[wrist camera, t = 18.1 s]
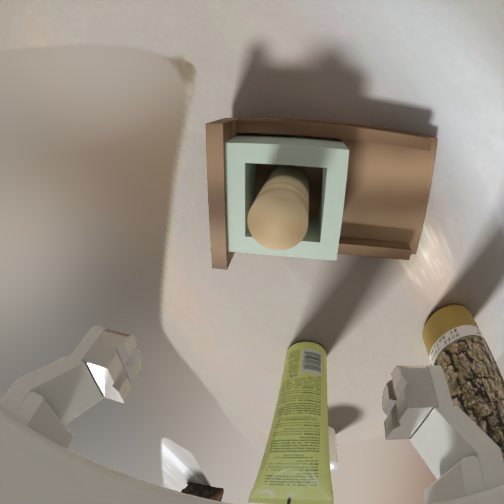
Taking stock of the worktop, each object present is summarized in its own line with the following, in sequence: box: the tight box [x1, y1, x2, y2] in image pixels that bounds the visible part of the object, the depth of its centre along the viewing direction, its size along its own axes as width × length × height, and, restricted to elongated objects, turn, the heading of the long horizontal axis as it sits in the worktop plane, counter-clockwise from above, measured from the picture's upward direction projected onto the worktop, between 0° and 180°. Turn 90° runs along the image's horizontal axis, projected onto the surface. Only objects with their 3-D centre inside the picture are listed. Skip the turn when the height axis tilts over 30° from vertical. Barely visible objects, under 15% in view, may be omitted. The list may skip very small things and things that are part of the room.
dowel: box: [247, 165, 309, 250], centre depth 22 cm, size 4×4×9 cm
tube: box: [249, 342, 333, 504], centre depth 28 cm, size 6×5×20 cm
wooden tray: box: [206, 117, 438, 269], centre depth 24 cm, size 11×18×6 cm, turn 90°
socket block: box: [225, 134, 349, 261], centre depth 24 cm, size 8×8×5 cm
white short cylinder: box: [328, 426, 338, 472], centre depth 42 cm, size 7×7×7 cm
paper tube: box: [423, 305, 504, 461], centre depth 21 cm, size 7×7×25 cm
